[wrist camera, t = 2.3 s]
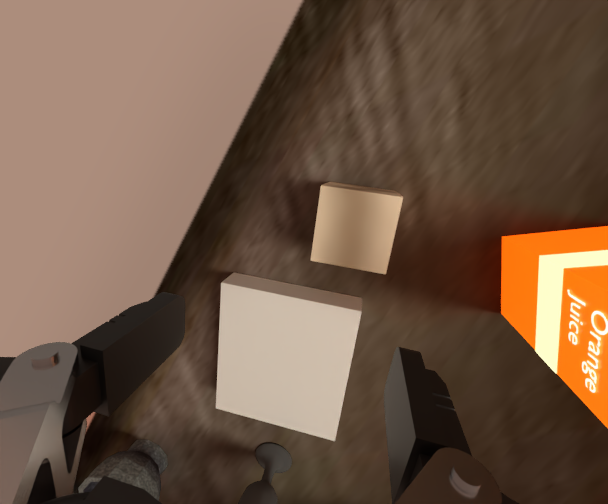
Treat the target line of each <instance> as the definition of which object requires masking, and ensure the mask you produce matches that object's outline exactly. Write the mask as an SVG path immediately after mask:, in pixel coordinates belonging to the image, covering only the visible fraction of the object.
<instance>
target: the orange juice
mask: <svg viewBox="0 0 608 504" xmlns="http://www.w3.org/2000/svg"><path fill="white" fill-rule="evenodd" d="M501 314H502V315H503V316H504V317H505V318H506V319H507V320H508V321H509V322H510V323H511V324H512V326H513V327H514V328H515V329H516V330H517V331H518V332H519V333H520V334H521V335H522V336H523V337H524V339H525V340H526V341H527V342H528V343H529V344H530V345H531V346H532V347H533V348H534V349H535V352H536V353H537V354H538V355H539V356H540V357H541V358H542V359H543V360H544V361H545V362H546V364H547V365H548V366H549V367H550V368H551V369H552V370H553V371H554V372H555V373H556V374H558V375H559V376H560V377H561V378H562V380H563V381H564V382H565V383H566V384H567V385H568V386H569V387H570V388H571V389H572V390H573V391H574V393H575V394H576V395H577V396H578V397H579V398H580V399H581V400H582V401H583V402H584V403H585V404H586V405H587V407H588V408H589V409H590V410H591V411H592V412H593V413H594V414H595V415H596V416H597V417H598V418H599V420H600V421H601V422H602V423H603V424H604V425H605V426H606V427H607V428H608V226H604V227H594V228H583V229H573V230H563V231H553V232H543V233H533V234H522V235H512V236H502V273H501Z"/></svg>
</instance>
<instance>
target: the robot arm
mask: <svg viewBox="0 0 608 504" xmlns="http://www.w3.org/2000/svg"><path fill="white" fill-rule="evenodd" d="M184 333H185V299H184V297H182V296H179V295H174V294H170V293H166V292H162V293H160V294H159V295H157V296H155V297H154V298H152V299H151V300H149V301H148V302H143V303H141V304H137V305H135V306H132V307H130V308H128V309H127V310H125V311H123V312H122V313H120V314H119V316H115V317H114V318H112V319H110V321H109V322H105V323H104V324H102V325H101V326H99V327H97V328H96V329H94V330H93V331H91V332H89V333H88V334H86V335H85V336H83V337H81V338H80V339H78V340H77V341H75V342H73V343H72V344H70V343H65V342H56V343H48V344H44V345H40V346H37V347H34V348H32V349H29V350H27V351H26V352H24V353H22V354H21V355H19V356H18V357H0V504H162V503H160V502H159V501H158V500H157V499H156V498H154V497H153V496H152V495H151V494H150V493H148V492H147V491H146V490H145V489H142V488H139V487H136V486H133V485H130V484H127V483H124V482H122V481H119V480H116V479H113V478H110V477H107V476H103V478H102V479H101V480H100V481H99V482H98V484H97V485H96V486H95V487H94V488H93V490H92V491H91V492H83V493H74V494H73V487H74V481H75V477H76V472H77V468H78V463H79V459H80V454H81V450H82V445H83V440H84V436H85V431H86V427H87V421H86V418H87V417H88V416H89V415H90V414H91V413H92V412H96V413H100V414H103V415H106V416H110V415H111V414H112V413H113V412H114V411H115V410H116V409H117V408H118V407H119V406H120V405H121V404H122V403H123V402H124V401H125V400H126V399H127V398H128V397H129V396H130V395H131V394H132V393H133V392H134V391H135V390H136V389H137V388H138V387H139V386H140V385H141V384H142V383H143V382H144V381H145V380H146V379H147V378H148V377H149V376H150V375H151V374H152V373H153V372H154V371H155V370H156V369H157V368H158V367H159V366H160V365H161V364H162V363H163V362H164V361H165V360H166V359H167V358H168V357H169V356H170V355H171V354H172V353H173V352H174V351H175V350H176V349H177V348H178V347H179V346H180V344H181V342H182V340H183V337H184ZM384 408H385V420H386V432H387V444H388V456H389V469H390V481H391V493H392V504H519V503H517V502H515V501H513V500H512V499H510V498H509V497H507V496H506V495H504V494H503V493H501V492H500V489H499V486H498V484H497V482H496V480H495V479H494V477H493V476H492V474H491V473H490V472H489V471H488V470H487V468H486V467H485V466H484V465H483V464H481V463H480V462H479V461H478V460H477V459H475V458H474V457H472V455H471V452H470V449H469V447H468V444H467V441H466V438H465V436H464V433H463V430H462V427H461V425H460V422H459V419H458V417H457V414H456V412H455V411H454V409H455V408H454V406H453V403H452V400H450V395H449V392H448V389H447V387H446V384H445V383H444V382H443V380H442V379H441V378H440V377H439V376H438V374H437V373H436V372H435V371H432V370H428V369H425V366H424V362H423V359H422V356H421V353H420V352H418V351H414V350H409V349H405V348H401V347H397V348H396V350H395V353H394V356H393V360H392V363H391V367H390V370H389V374H388V377H387V381H386V385H385V391H384Z"/></svg>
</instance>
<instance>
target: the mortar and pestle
mask: <svg viewBox="0 0 608 504" xmlns="http://www.w3.org/2000/svg"><path fill="white" fill-rule="evenodd" d="M167 466H168V463H167V455H166V454H165V453H164V451H163V450H162V449H161V448H160V446H159V445H157V444H155V443H153V442H151V441H149V440H136V441H135V442H134V443H133V444H132V446H131V447H130V448H129V449H128V451H123V452H118V453H116V454H114V455H112V456H110V457H108V458H106V459H105V460H104V461H103V462H102V463H101V464H100V465H98V466H97V467H96V468H95V469H94V471H93V472H92V473H91V474H90V475H89V476H88V477H87V478H86V480H85V481H84V482H83V483H82V484H81V485H80V486H79V488H78V489H79V493H83V492H91V491H92V490H93V488H94V487H95V486H96V485H97V484H98V482H99V481H100V480H101V479H102V478H103V476H107V477H110V478H113V479H116V480H119V481H122V482H124V483H127V484H130V485H133V486H136V487H139V488H142V489H145V490H146V491H147V492H148V493H150V494H151V495H152V496H153V497H154V498H156V499H157V500H159V496H160V490H161V482H160V474H161V473H162V472H163V471H164V470H165V469H166V467H167Z"/></svg>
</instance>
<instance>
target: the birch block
mask: <svg viewBox="0 0 608 504" xmlns="http://www.w3.org/2000/svg"><path fill="white" fill-rule="evenodd" d="M402 201H403V197H402V196H401V195H400V194H399V193H398V192H396V191H393V190H386V189H379V188H372V187H365V186H358V185H351V184H344V183H337V182H328V183H325V184H323V185H321V189H320V196H319V203H318V210H317V217H316V225H315V232H314V239H313V246H312V253H311V260H310V261H316V262H321V263H327V264H332V265H337V266H343V267H348V268H354V269H359V270H364V271H370V272H375V273H380V274H386V271H387V267H388V263H389V258H390V254H391V249H392V245H393V240H394V236H395V232H396V227H397V223H398V218H399V214H400V209H401V205H402Z"/></svg>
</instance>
